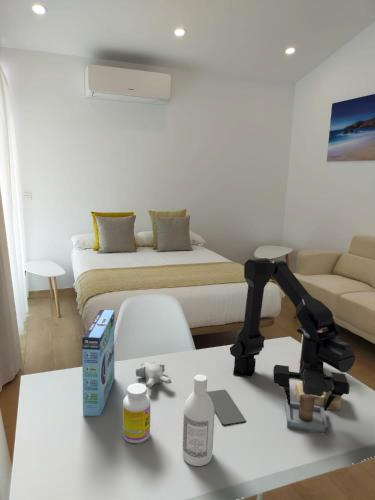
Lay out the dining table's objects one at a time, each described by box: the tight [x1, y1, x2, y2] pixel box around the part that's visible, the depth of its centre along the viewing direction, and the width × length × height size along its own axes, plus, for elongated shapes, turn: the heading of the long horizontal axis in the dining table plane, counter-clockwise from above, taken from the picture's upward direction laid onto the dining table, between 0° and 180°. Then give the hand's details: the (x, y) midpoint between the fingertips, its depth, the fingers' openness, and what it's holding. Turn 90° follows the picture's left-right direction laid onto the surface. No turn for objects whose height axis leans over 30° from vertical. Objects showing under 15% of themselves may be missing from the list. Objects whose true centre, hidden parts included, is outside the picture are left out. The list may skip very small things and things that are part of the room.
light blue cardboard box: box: [81, 309, 116, 417], centre depth 104 cm, size 20×5×23 cm, turn 0°
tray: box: [285, 400, 329, 436], centre depth 98 cm, size 10×9×2 cm
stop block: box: [323, 392, 342, 411], centre depth 107 cm, size 4×8×5 cm, turn 168°
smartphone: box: [207, 389, 247, 427], centre depth 103 cm, size 7×1×15 cm
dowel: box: [299, 394, 315, 422], centre depth 97 cm, size 4×4×6 cm
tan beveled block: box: [294, 381, 325, 407], centre depth 109 cm, size 7×7×3 cm
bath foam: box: [182, 374, 216, 467], centre depth 82 cm, size 7×7×20 cm
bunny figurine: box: [135, 360, 172, 388], centre depth 114 cm, size 10×5×15 cm
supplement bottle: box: [122, 382, 151, 444], centre depth 89 cm, size 7×7×13 cm
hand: (306, 407), depth 97 cm, fingers open, 9 cm apart
